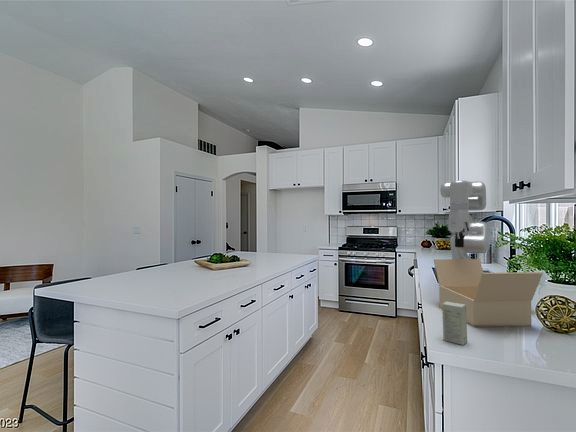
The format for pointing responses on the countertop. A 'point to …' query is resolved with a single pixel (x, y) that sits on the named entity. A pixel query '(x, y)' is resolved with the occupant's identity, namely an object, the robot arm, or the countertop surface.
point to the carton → (487, 308)
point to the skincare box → (454, 322)
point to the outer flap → (507, 286)
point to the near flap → (458, 271)
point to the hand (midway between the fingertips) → (459, 247)
